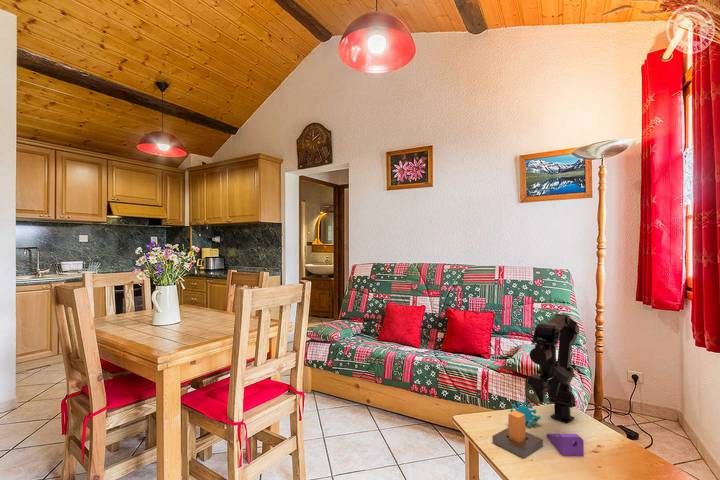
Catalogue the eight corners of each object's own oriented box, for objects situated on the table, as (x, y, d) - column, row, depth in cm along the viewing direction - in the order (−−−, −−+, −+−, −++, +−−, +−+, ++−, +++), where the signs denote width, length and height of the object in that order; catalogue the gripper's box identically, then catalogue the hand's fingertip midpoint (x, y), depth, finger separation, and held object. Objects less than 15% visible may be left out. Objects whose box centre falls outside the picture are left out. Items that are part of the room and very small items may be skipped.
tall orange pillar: (515, 440, 134) (514, 410, 134) (525, 445, 130) (525, 414, 130) (508, 444, 131) (508, 413, 131) (519, 449, 128) (518, 417, 128)
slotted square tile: (511, 432, 139) (511, 425, 139) (542, 446, 129) (542, 439, 129) (492, 442, 132) (492, 436, 132) (523, 458, 123) (523, 451, 123)
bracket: (583, 457, 123) (583, 437, 123) (562, 457, 124) (562, 436, 124) (565, 438, 135) (565, 419, 135) (546, 437, 136) (546, 419, 136)
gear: (508, 421, 144) (511, 397, 150) (508, 427, 148) (510, 402, 154) (539, 431, 139) (541, 405, 145) (538, 436, 143) (540, 411, 149)
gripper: (556, 368, 126) (557, 414, 126) (582, 358, 136) (583, 400, 136) (525, 360, 135) (526, 402, 135) (552, 351, 145) (553, 390, 145)
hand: (548, 399), depth 138 cm, fingers open, 9 cm apart
